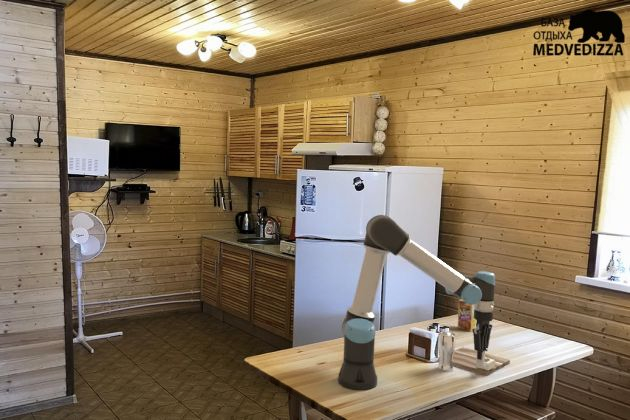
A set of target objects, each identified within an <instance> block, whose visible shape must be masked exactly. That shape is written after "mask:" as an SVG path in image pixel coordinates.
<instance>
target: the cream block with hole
mask: <svg viewBox="0 0 630 420" xmlns="http://www.w3.org/2000/svg"><path fill="white" fill-rule="evenodd" d="M477 367H478V366H477ZM494 367H495V360H493V359H490V358H486V357H485V363H484V367H483V368H481V367H478V368H481V369H485V370H490V369H492V368H494Z"/></svg>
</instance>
